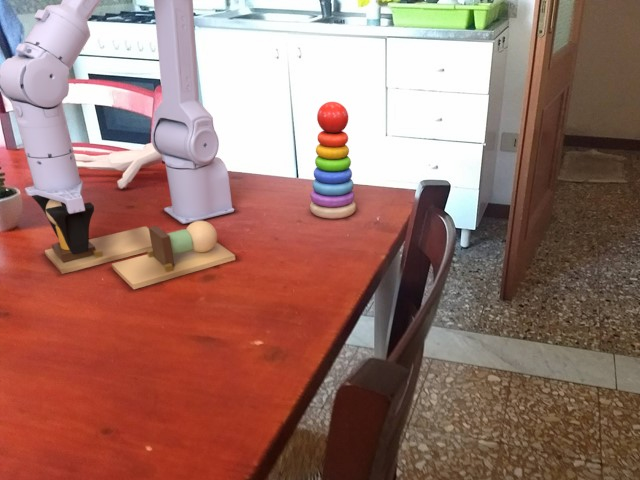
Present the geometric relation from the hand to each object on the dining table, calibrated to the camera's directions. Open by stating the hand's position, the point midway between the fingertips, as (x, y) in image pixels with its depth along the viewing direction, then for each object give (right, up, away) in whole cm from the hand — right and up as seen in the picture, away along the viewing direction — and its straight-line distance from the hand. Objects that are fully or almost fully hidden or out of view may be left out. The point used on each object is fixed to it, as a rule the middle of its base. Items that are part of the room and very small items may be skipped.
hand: (73, 245), depth 91 cm
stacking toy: (+35, +7, +20) cm, 41 cm away
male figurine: (-7, +16, +32) cm, 37 cm away
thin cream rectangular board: (+15, -3, 0) cm, 15 cm away
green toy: (+16, -1, +1) cm, 17 cm away
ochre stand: (+3, -1, +4) cm, 5 cm away
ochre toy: (+2, +3, 0) cm, 4 cm away
